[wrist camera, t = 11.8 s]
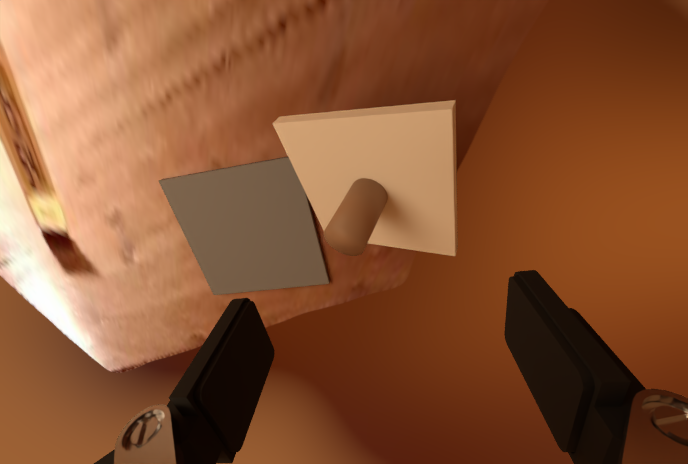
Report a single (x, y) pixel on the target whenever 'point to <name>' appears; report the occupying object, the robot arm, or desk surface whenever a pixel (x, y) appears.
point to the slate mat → (249, 226)
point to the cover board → (379, 174)
